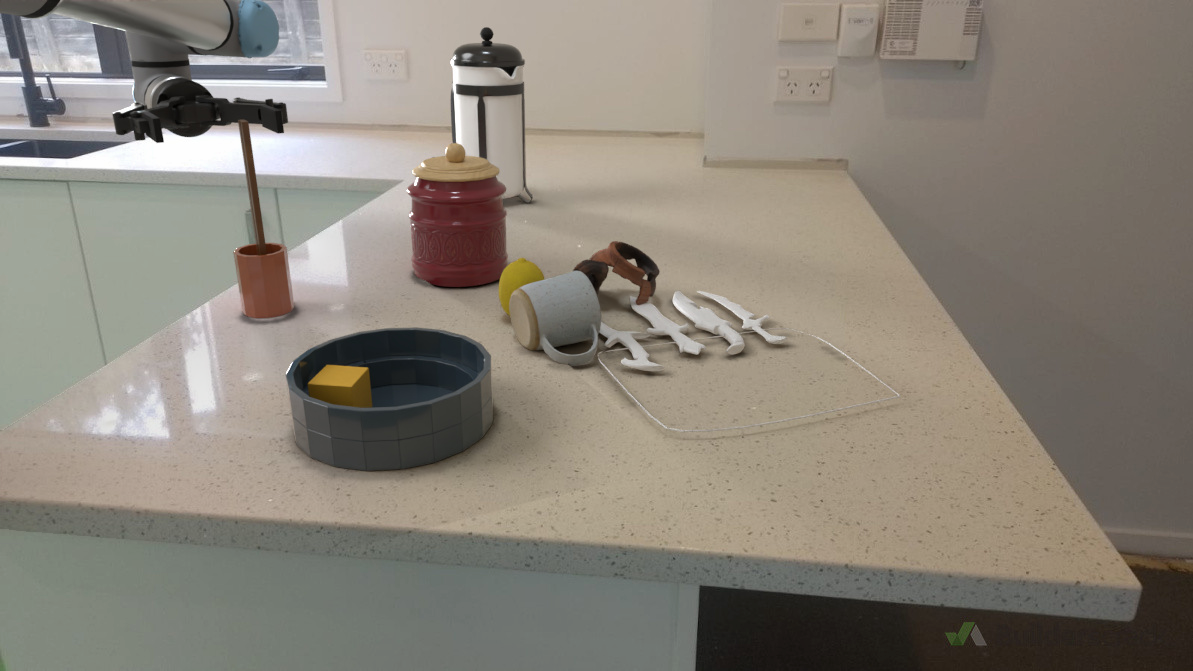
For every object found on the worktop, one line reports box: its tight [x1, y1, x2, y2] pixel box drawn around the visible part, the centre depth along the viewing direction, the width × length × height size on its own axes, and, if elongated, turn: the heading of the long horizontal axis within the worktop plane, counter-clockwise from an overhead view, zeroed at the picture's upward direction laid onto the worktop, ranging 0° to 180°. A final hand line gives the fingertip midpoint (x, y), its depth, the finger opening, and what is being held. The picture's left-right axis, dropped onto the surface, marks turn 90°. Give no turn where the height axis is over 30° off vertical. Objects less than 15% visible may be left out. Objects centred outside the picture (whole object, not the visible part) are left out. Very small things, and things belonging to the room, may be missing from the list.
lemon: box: [497, 257, 545, 317], centre depth 97 cm, size 6×6×8 cm
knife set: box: [597, 290, 901, 433], centre depth 91 cm, size 26×35×1 cm
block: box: [308, 365, 372, 408], centre depth 75 cm, size 4×4×4 cm
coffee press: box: [449, 26, 534, 204], centre depth 149 cm, size 17×16×30 cm
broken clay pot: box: [572, 240, 661, 305], centre depth 104 cm, size 12×10×8 cm
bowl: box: [285, 326, 494, 472], centre depth 74 cm, size 17×17×6 cm
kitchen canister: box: [406, 142, 509, 288], centre depth 112 cm, size 13×13×18 cm
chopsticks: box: [237, 120, 267, 255], centre depth 95 cm, size 1×2×22 cm, turn 36°
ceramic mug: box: [509, 270, 602, 366], centre depth 90 cm, size 11×8×8 cm
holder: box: [232, 242, 295, 319], centre depth 98 cm, size 6×6×8 cm
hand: (221, 126), depth 99 cm, fingers open, 13 cm apart
